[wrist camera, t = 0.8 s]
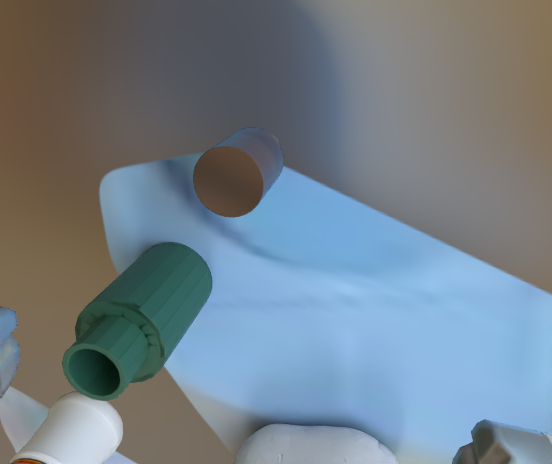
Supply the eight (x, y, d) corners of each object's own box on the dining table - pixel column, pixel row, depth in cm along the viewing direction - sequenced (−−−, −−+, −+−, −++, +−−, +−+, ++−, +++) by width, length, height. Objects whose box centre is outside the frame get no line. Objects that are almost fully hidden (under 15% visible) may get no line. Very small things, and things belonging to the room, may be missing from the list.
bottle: (151, 229, 51) (56, 309, 37) (222, 263, 51) (155, 357, 36) (131, 291, 55) (37, 387, 40) (198, 323, 54) (127, 431, 40)
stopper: (247, 109, 45) (206, 133, 35) (301, 134, 44) (274, 165, 34) (228, 162, 47) (183, 198, 37) (279, 185, 47) (248, 229, 37)
